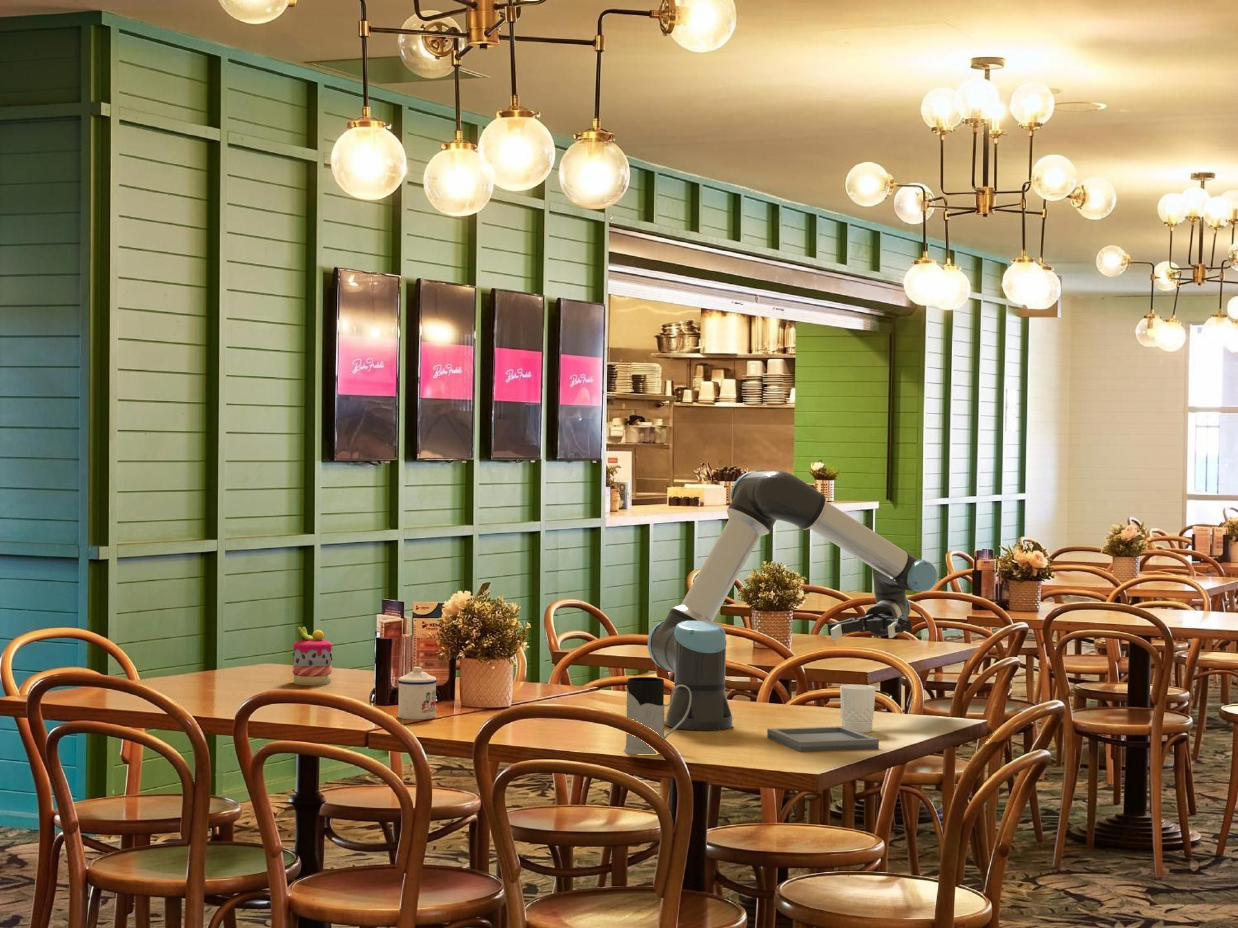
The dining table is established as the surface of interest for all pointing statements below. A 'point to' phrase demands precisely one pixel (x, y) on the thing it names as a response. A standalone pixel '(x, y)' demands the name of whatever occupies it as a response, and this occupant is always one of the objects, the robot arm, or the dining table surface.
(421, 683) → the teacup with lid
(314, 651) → the cake
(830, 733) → the serving tray
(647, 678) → the glass holder
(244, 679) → the dining table surface
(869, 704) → the white cup
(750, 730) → the dining table surface
